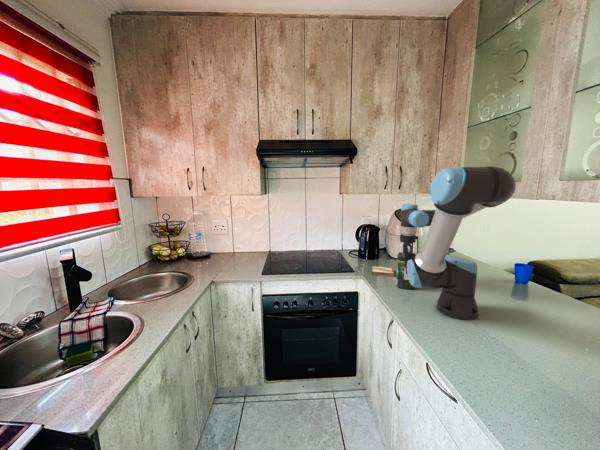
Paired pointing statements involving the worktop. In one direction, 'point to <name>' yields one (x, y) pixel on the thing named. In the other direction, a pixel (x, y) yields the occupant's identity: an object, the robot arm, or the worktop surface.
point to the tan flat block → (382, 271)
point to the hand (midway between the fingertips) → (405, 276)
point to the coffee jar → (400, 272)
